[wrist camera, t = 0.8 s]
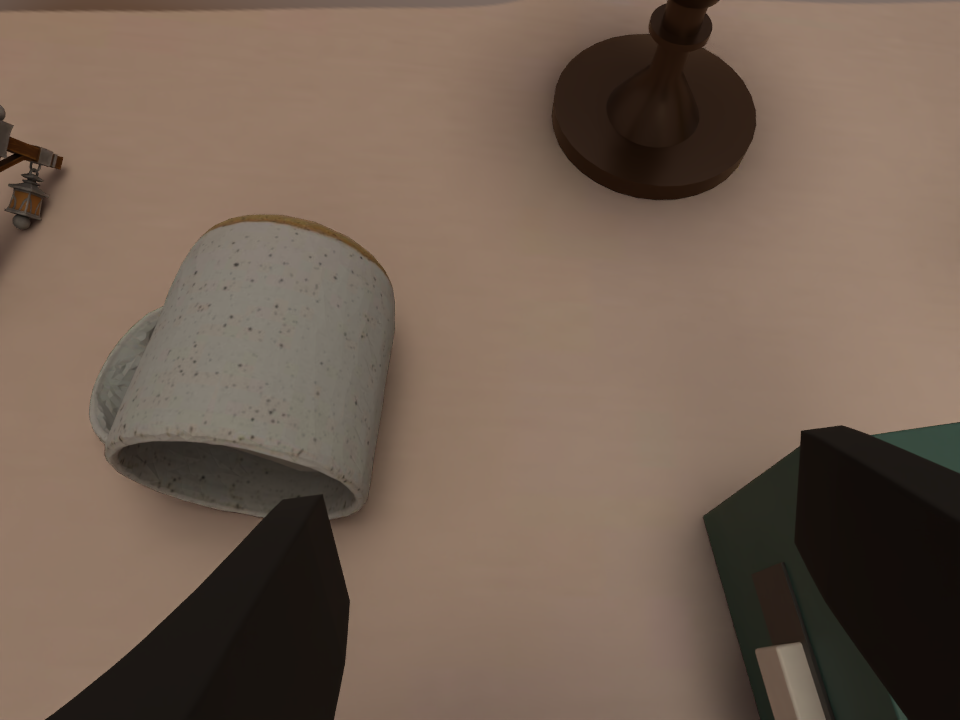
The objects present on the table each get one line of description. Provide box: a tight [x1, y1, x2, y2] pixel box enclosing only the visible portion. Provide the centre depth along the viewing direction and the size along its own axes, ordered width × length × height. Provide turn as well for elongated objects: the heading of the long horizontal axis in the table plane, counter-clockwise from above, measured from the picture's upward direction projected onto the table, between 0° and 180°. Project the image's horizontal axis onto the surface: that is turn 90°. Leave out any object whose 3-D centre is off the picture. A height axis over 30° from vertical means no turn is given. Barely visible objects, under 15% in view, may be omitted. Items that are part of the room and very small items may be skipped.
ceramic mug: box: [89, 215, 395, 519], centre depth 23 cm, size 11×8×8 cm
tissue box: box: [703, 422, 960, 720], centre depth 19 cm, size 12×6×8 cm, turn 9°
